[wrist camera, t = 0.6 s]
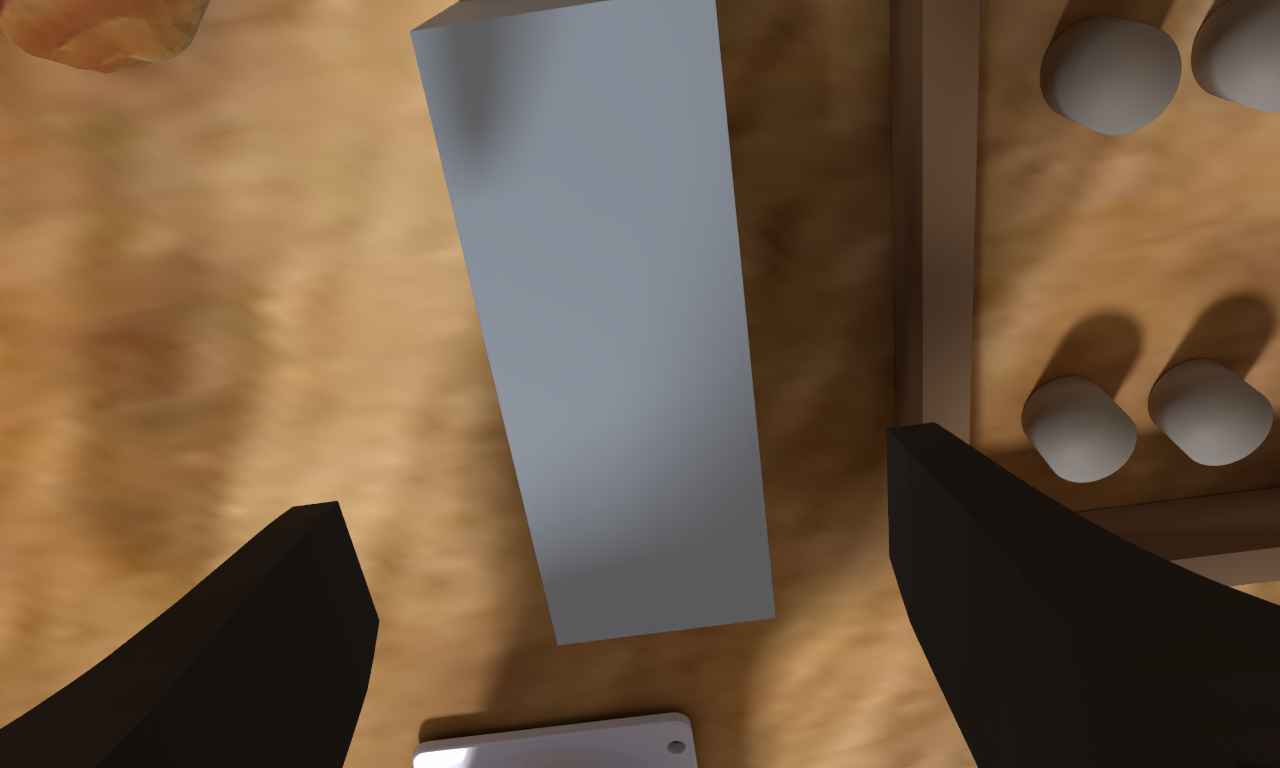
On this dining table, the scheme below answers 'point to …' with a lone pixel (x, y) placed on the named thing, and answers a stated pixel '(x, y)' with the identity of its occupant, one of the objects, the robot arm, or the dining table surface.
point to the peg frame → (944, 263)
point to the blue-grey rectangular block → (609, 299)
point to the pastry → (102, 30)
